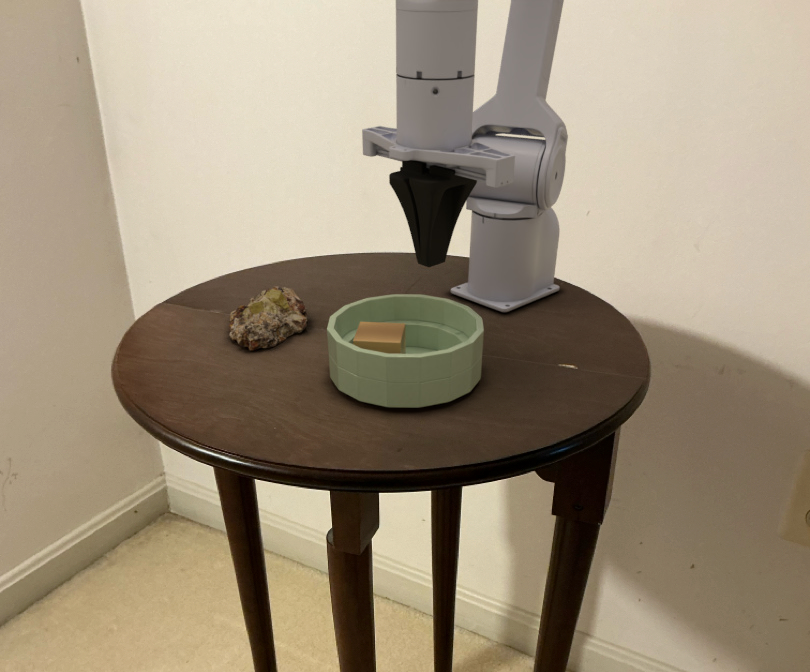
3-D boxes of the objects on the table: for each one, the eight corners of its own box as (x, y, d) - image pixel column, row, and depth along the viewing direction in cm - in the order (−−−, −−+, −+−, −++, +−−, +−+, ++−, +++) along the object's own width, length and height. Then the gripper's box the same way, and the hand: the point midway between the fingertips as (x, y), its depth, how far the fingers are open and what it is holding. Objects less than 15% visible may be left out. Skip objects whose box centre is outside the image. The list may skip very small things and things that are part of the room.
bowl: (407, 333, 76) (407, 283, 73) (510, 377, 68) (515, 323, 65) (301, 375, 69) (296, 321, 66) (402, 429, 61) (402, 372, 58)
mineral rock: (239, 284, 80) (309, 268, 77) (255, 323, 82) (323, 309, 80) (198, 328, 72) (274, 312, 69) (217, 370, 74) (291, 356, 72)
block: (361, 363, 69) (360, 321, 67) (405, 365, 69) (405, 323, 67) (354, 384, 66) (352, 340, 64) (400, 386, 66) (400, 342, 64)
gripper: (329, 69, 58) (339, 252, 66) (471, 92, 50) (462, 298, 58) (397, 60, 62) (398, 235, 70) (540, 81, 53) (522, 275, 62)
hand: (431, 262), depth 64 cm, fingers closed
